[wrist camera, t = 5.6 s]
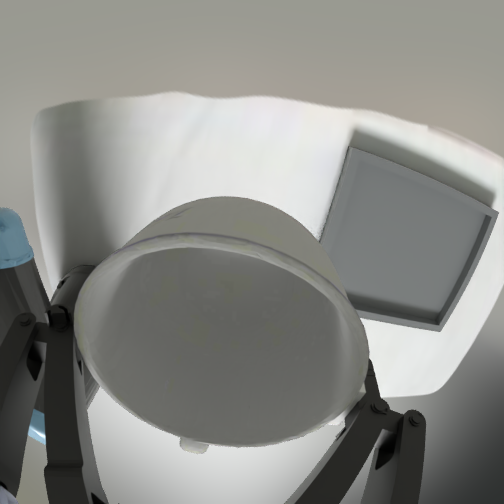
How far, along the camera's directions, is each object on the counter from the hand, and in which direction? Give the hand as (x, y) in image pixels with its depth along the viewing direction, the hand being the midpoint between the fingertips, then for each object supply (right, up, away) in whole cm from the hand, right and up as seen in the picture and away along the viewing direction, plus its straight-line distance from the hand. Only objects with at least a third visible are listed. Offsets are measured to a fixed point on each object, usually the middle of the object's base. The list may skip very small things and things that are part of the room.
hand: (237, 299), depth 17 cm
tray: (+19, +3, +14) cm, 23 cm away
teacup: (0, 0, 0) cm, 1 cm away
